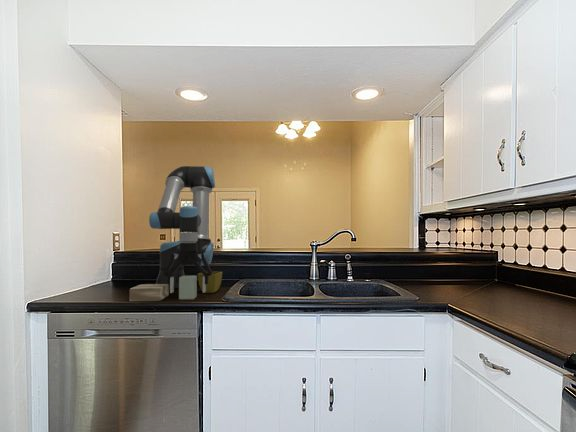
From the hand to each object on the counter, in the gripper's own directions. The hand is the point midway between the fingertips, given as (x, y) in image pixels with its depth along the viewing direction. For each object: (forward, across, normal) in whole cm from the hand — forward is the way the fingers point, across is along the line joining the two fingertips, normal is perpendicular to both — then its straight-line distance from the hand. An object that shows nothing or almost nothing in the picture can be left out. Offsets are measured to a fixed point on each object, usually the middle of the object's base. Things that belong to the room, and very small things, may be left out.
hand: (188, 292), depth 145 cm
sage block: (+2, 0, 0) cm, 2 cm away
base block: (+2, -16, 0) cm, 16 cm away
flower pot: (+2, +7, +13) cm, 15 cm away
